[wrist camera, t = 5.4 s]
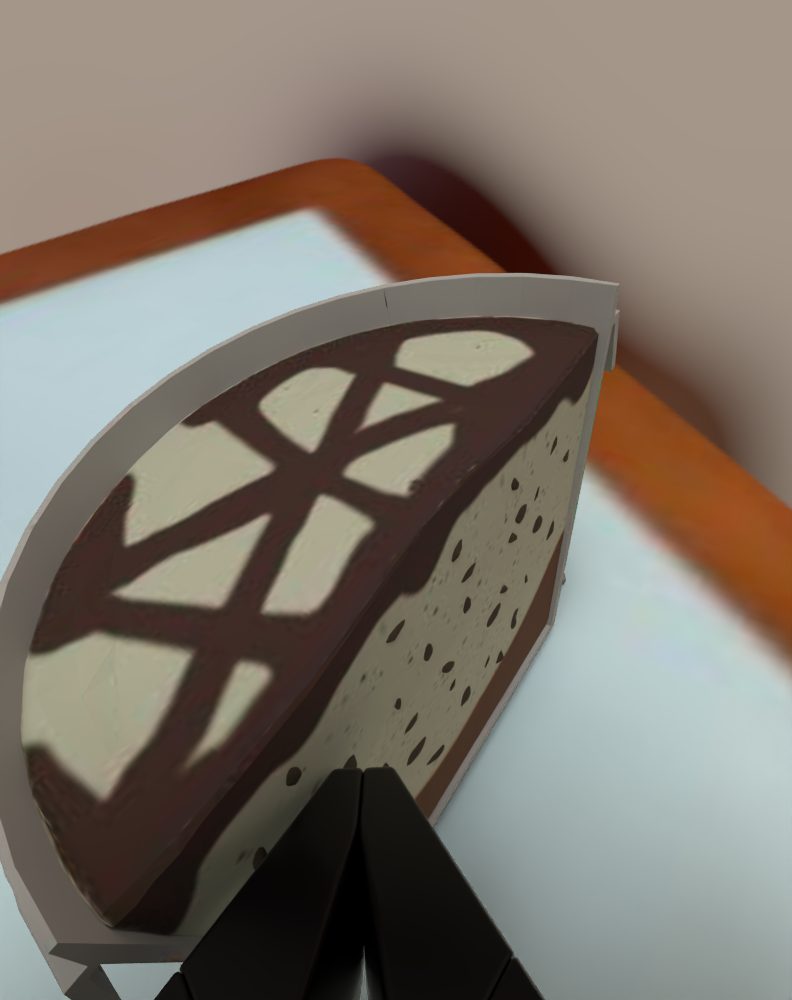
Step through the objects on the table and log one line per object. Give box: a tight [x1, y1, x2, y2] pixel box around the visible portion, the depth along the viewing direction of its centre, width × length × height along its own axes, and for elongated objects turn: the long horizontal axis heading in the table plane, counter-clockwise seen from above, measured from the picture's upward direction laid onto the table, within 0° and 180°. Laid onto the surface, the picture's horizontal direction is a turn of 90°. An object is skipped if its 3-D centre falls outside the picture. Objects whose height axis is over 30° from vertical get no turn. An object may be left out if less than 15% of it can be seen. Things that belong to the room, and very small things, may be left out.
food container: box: [0, 273, 620, 1000], centre depth 12 cm, size 12×6×10 cm, turn 144°
